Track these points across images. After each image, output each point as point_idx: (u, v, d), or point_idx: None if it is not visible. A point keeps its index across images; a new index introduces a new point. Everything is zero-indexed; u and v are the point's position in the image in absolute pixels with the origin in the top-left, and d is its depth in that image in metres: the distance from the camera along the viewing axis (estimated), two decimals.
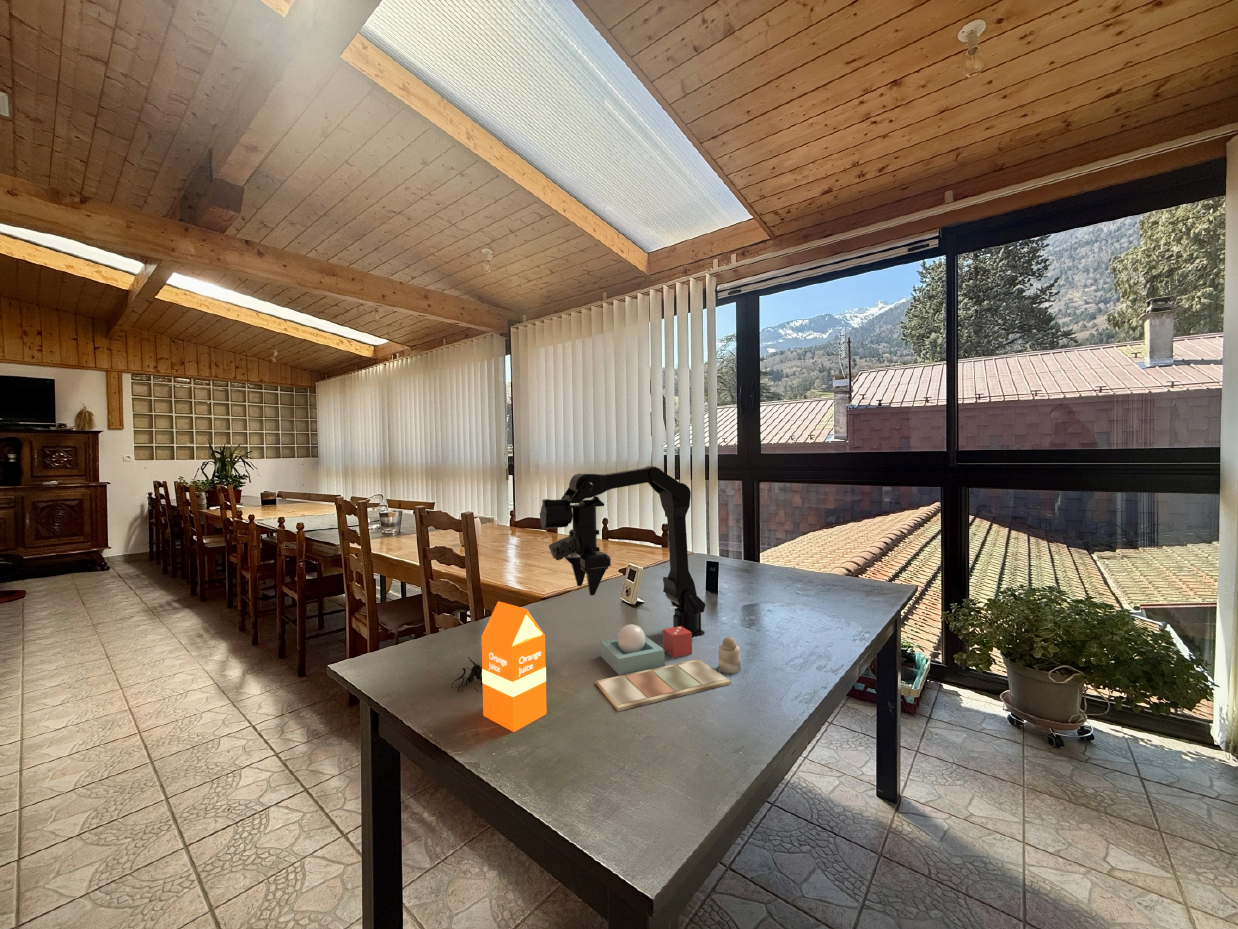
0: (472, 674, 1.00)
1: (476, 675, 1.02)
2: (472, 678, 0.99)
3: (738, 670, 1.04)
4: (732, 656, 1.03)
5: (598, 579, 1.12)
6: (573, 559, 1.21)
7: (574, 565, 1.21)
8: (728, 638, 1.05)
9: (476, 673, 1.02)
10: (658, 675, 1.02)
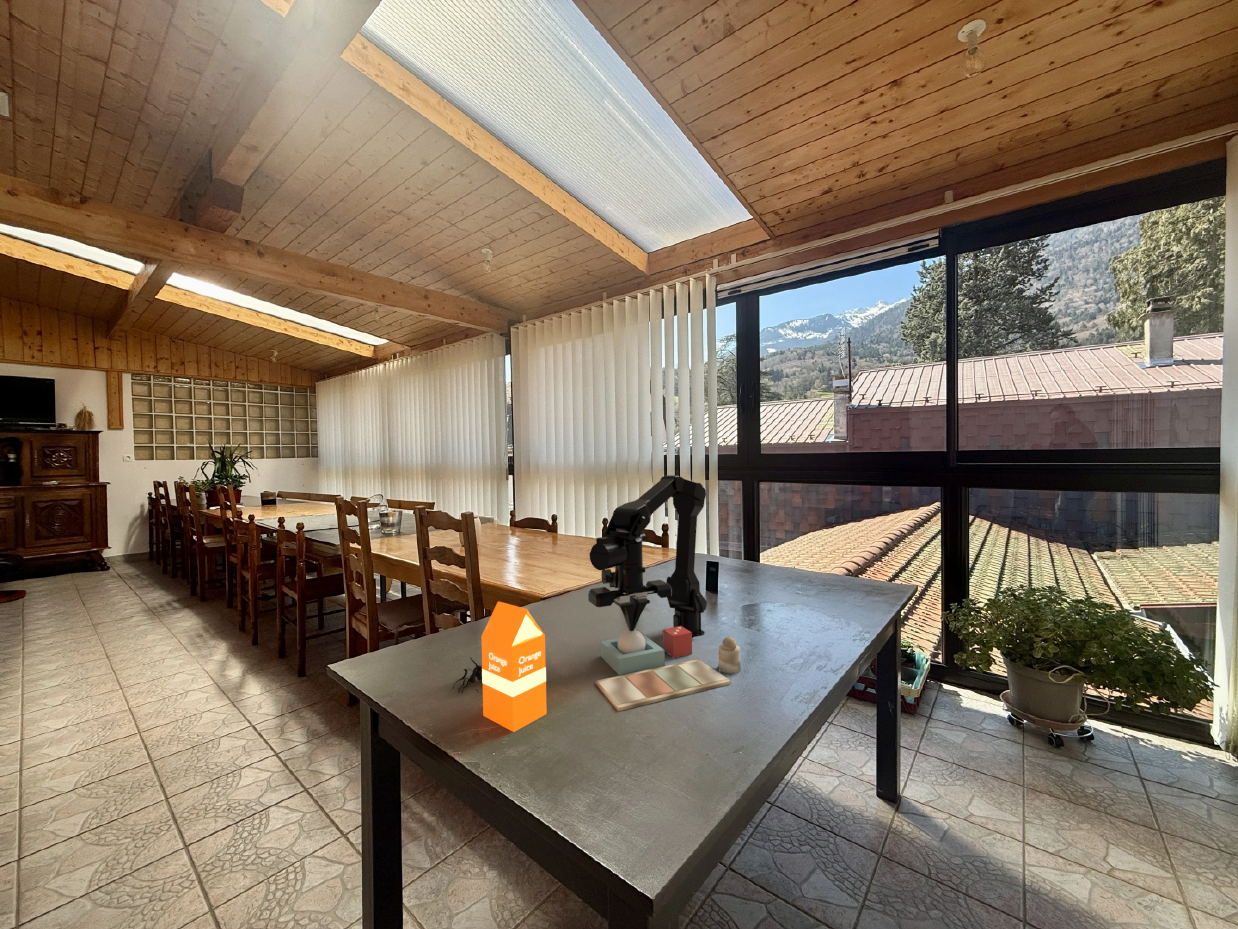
0: (473, 675, 0.99)
1: (478, 676, 1.01)
2: (473, 679, 0.99)
3: (738, 670, 1.04)
4: (732, 656, 1.03)
5: (627, 616, 1.09)
6: (631, 599, 1.12)
7: None
8: (728, 638, 1.05)
9: (478, 674, 1.01)
10: (658, 675, 1.02)
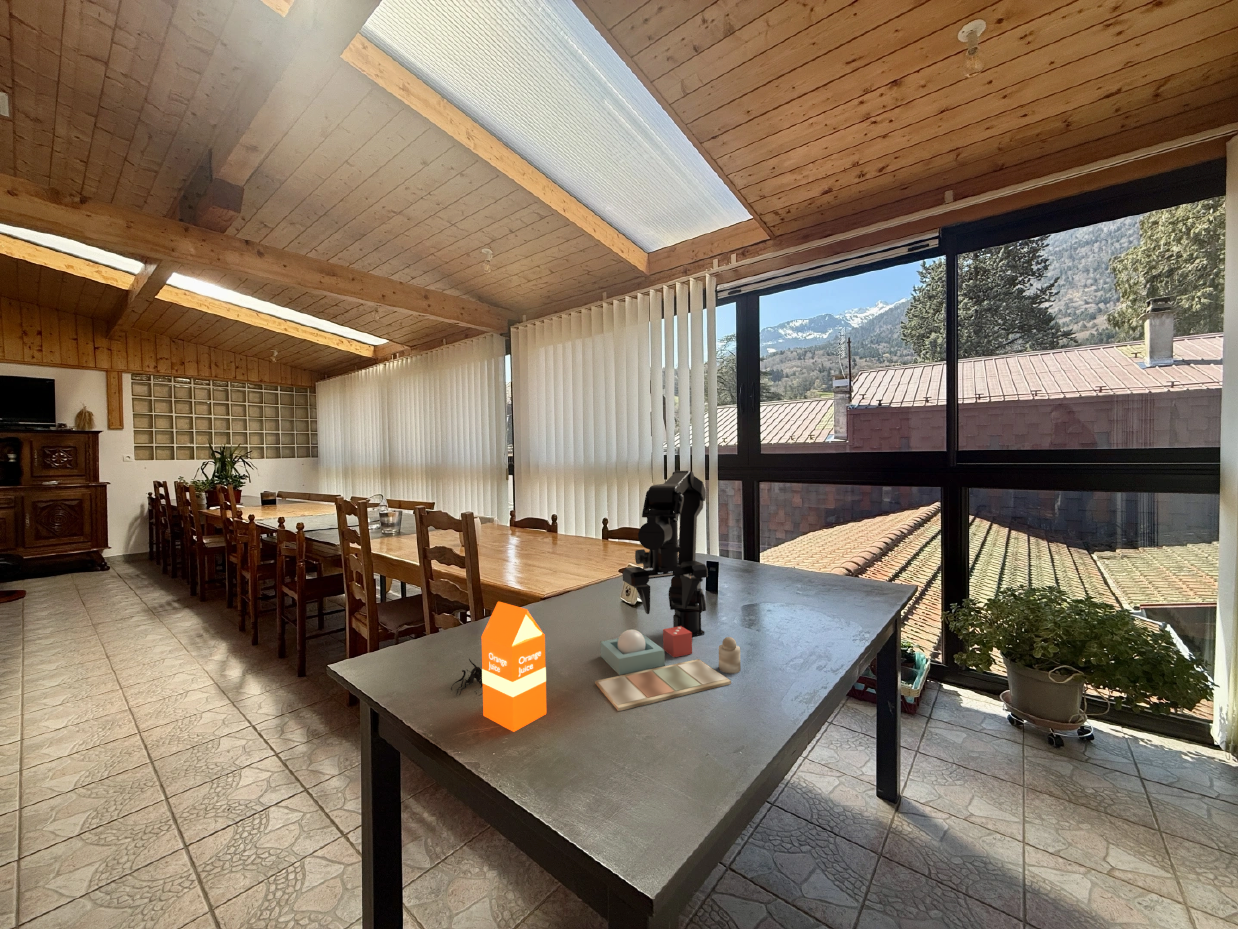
0: (472, 676, 0.99)
1: (476, 677, 1.01)
2: (472, 680, 0.98)
3: (738, 670, 1.04)
4: (732, 656, 1.03)
5: (644, 598, 1.05)
6: (683, 577, 1.12)
7: (682, 584, 1.11)
8: (728, 638, 1.05)
9: (476, 675, 1.01)
10: (658, 675, 1.02)
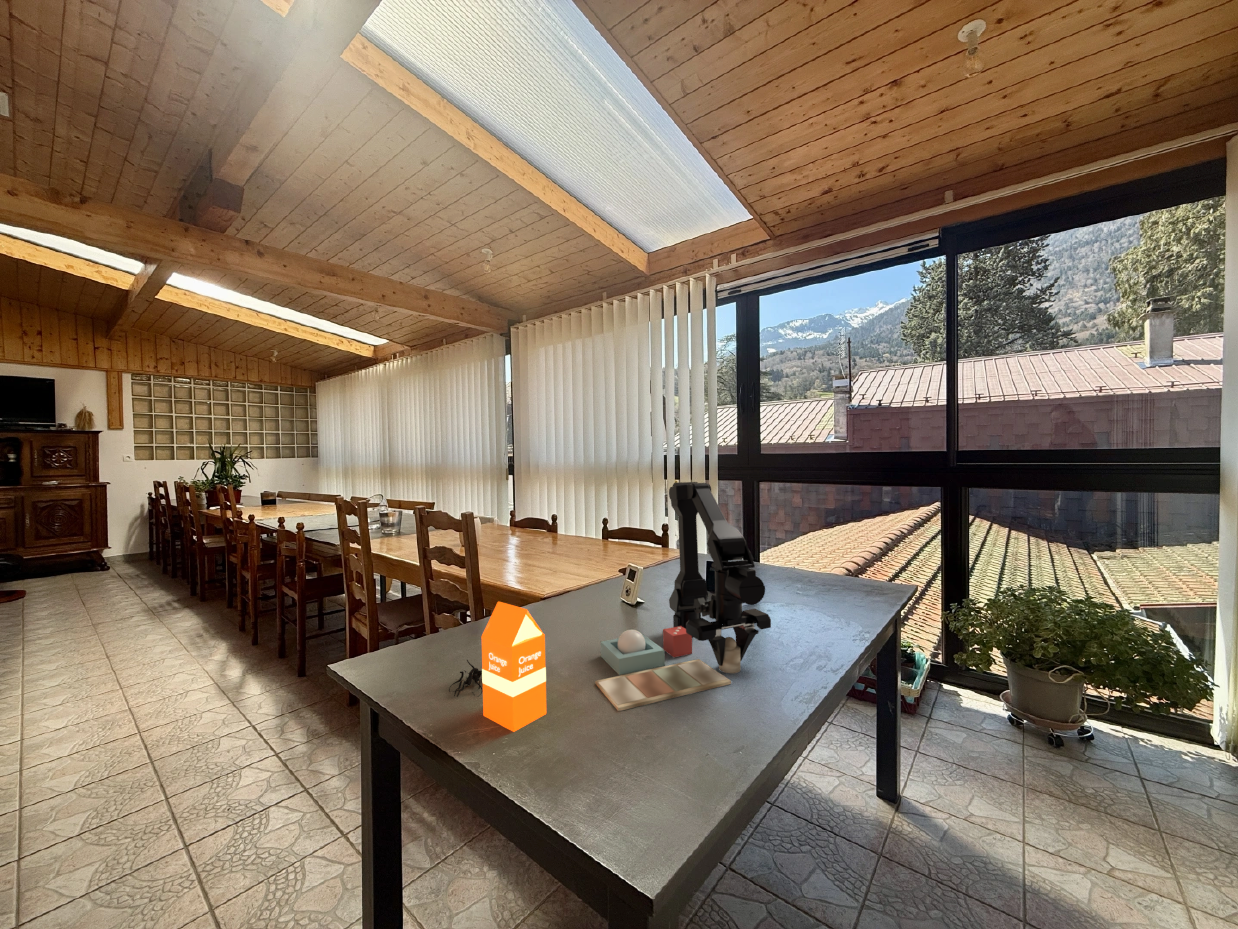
0: (470, 678, 0.98)
1: (474, 679, 1.00)
2: (469, 682, 0.98)
3: (738, 670, 1.04)
4: (732, 656, 1.03)
5: (717, 650, 1.03)
6: (736, 628, 1.08)
7: (736, 635, 1.08)
8: (728, 638, 1.05)
9: (474, 677, 1.00)
10: (658, 675, 1.02)
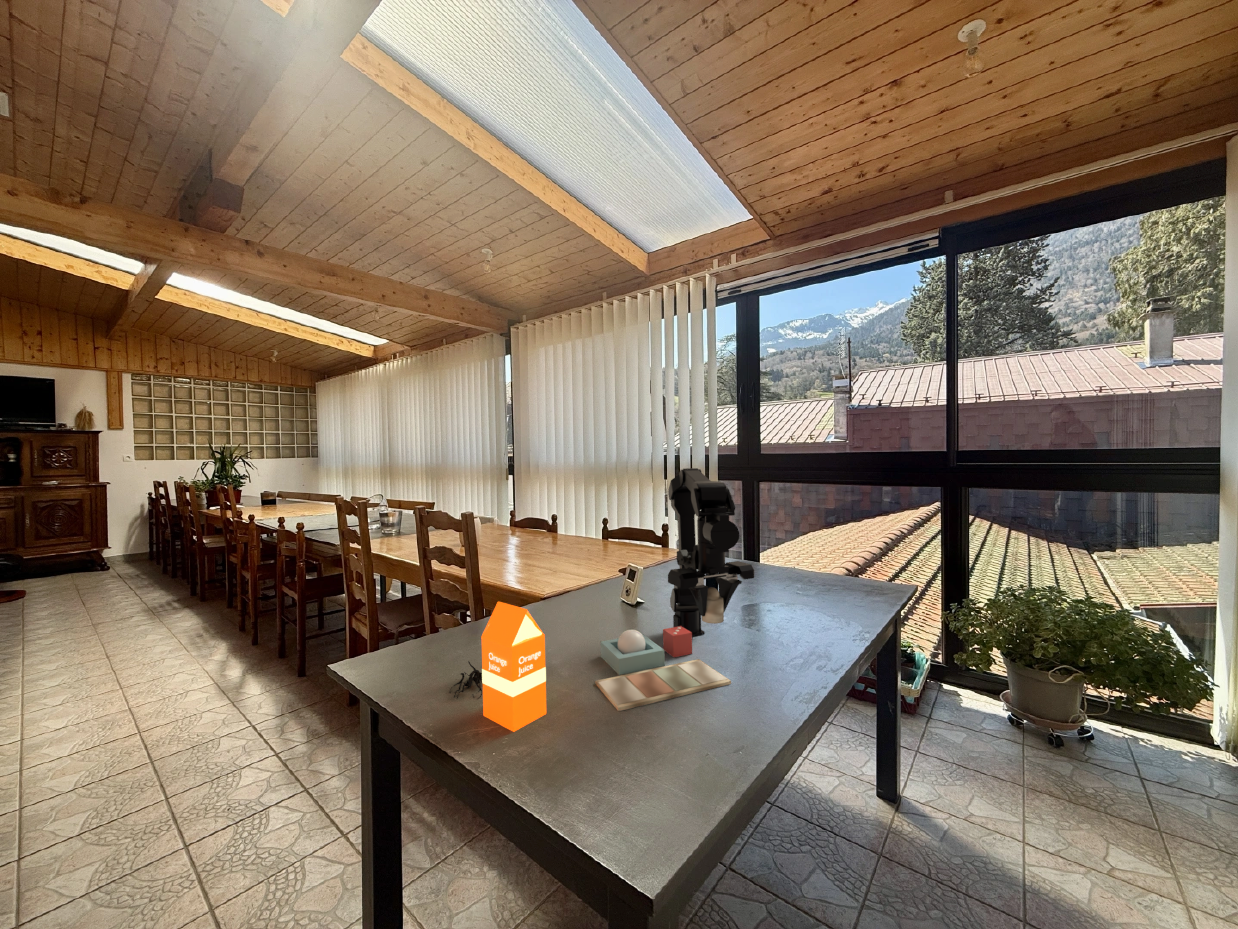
0: (470, 680, 0.97)
1: (475, 681, 0.99)
2: (470, 684, 0.97)
3: (721, 620, 1.02)
4: (714, 606, 1.01)
5: (700, 600, 1.01)
6: (719, 580, 1.06)
7: (719, 587, 1.06)
8: (711, 588, 1.03)
9: (475, 679, 0.99)
10: (658, 675, 1.02)
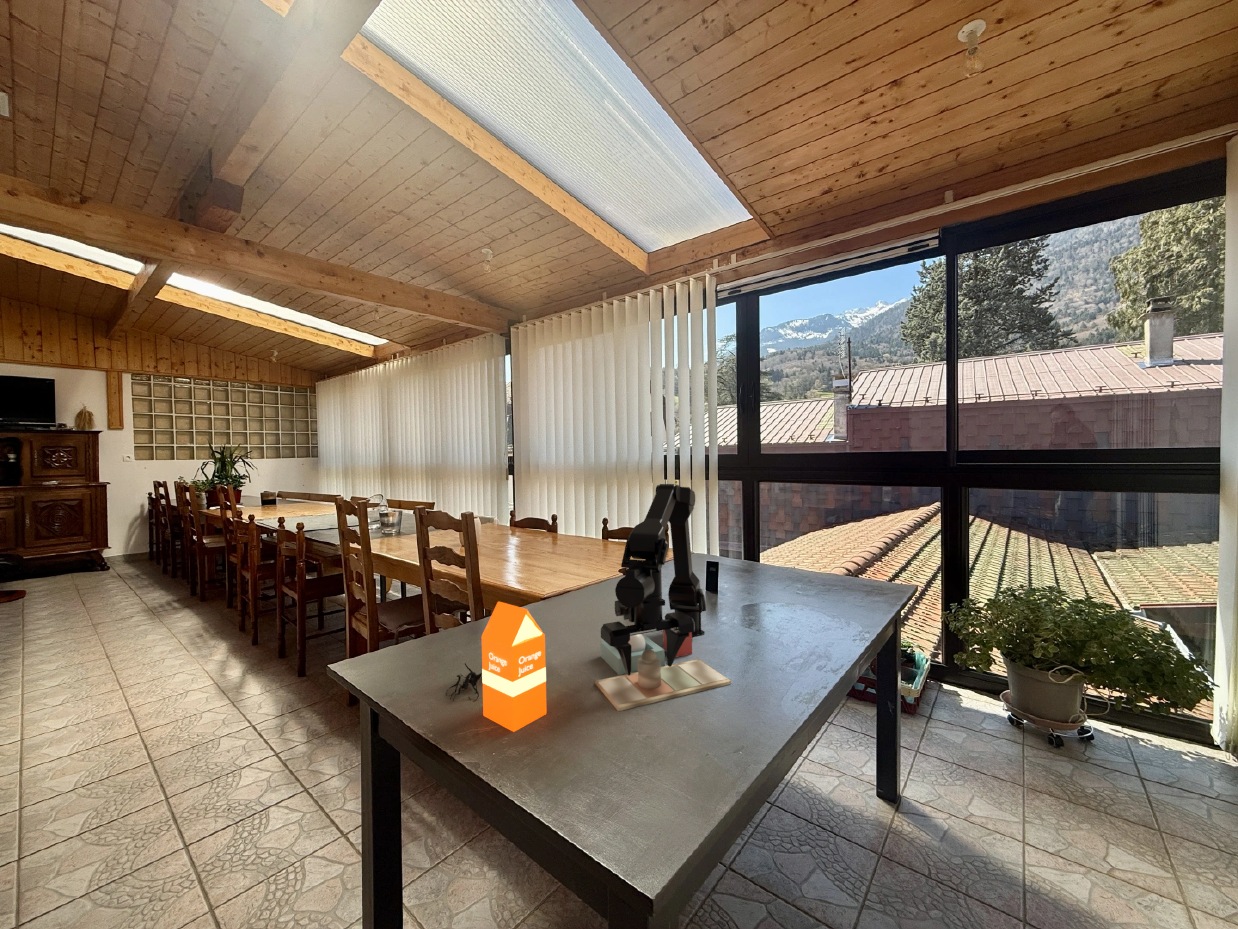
0: (466, 682, 0.96)
1: (472, 683, 0.98)
2: (466, 686, 0.96)
3: (657, 685, 0.96)
4: (650, 670, 0.96)
5: (624, 658, 0.95)
6: (667, 631, 1.01)
7: (667, 638, 1.01)
8: (647, 650, 0.97)
9: (472, 681, 0.98)
10: None
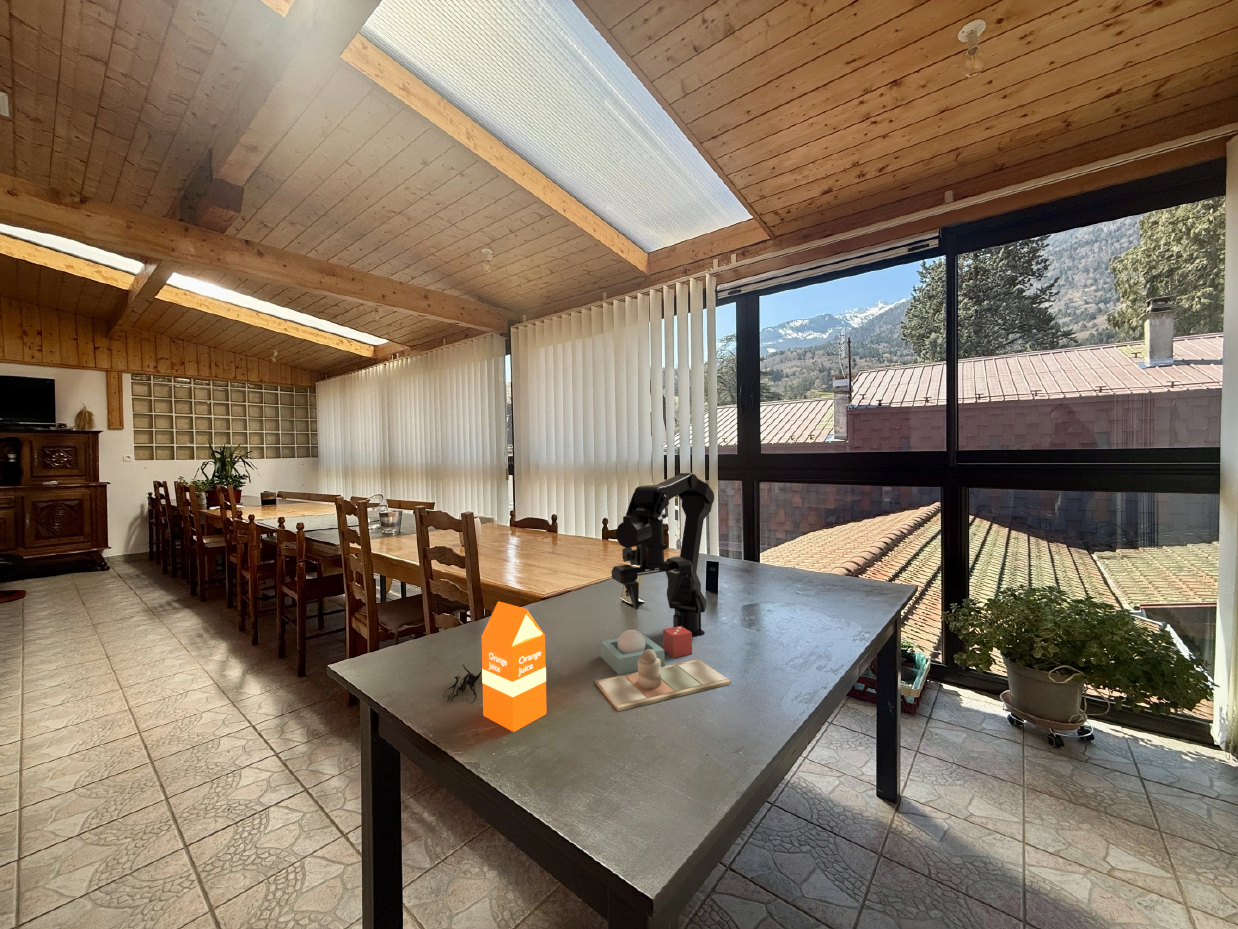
0: (464, 683, 0.96)
1: (469, 684, 0.98)
2: (464, 687, 0.95)
3: (657, 685, 0.96)
4: (650, 670, 0.96)
5: (632, 595, 1.10)
6: (668, 573, 1.17)
7: (668, 579, 1.17)
8: (647, 650, 0.97)
9: (469, 682, 0.98)
10: None
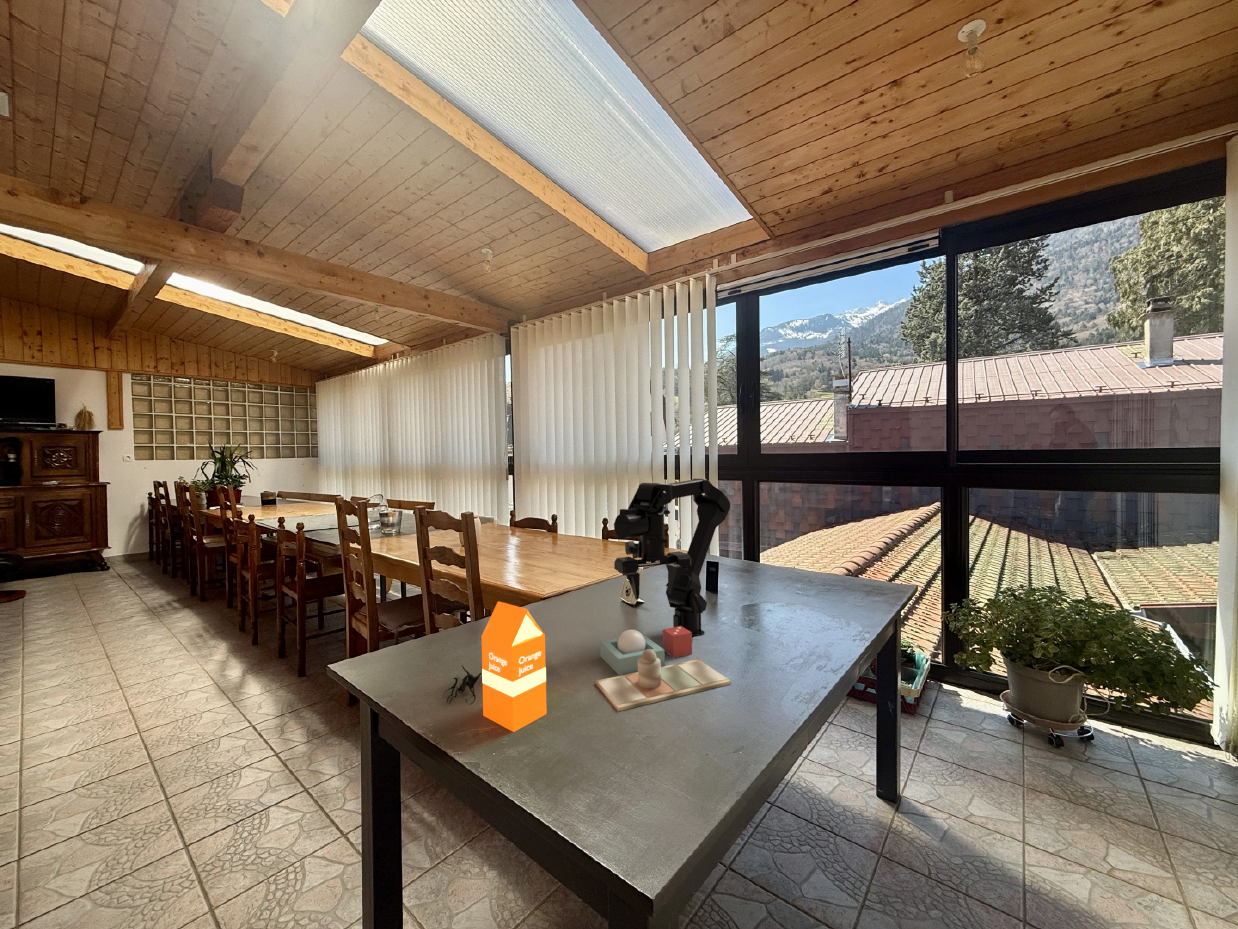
0: (463, 684, 0.95)
1: (469, 685, 0.97)
2: (463, 689, 0.95)
3: (657, 685, 0.96)
4: (650, 670, 0.96)
5: (633, 585, 1.16)
6: (668, 566, 1.23)
7: (668, 572, 1.23)
8: (647, 650, 0.97)
9: (469, 683, 0.97)
10: None
